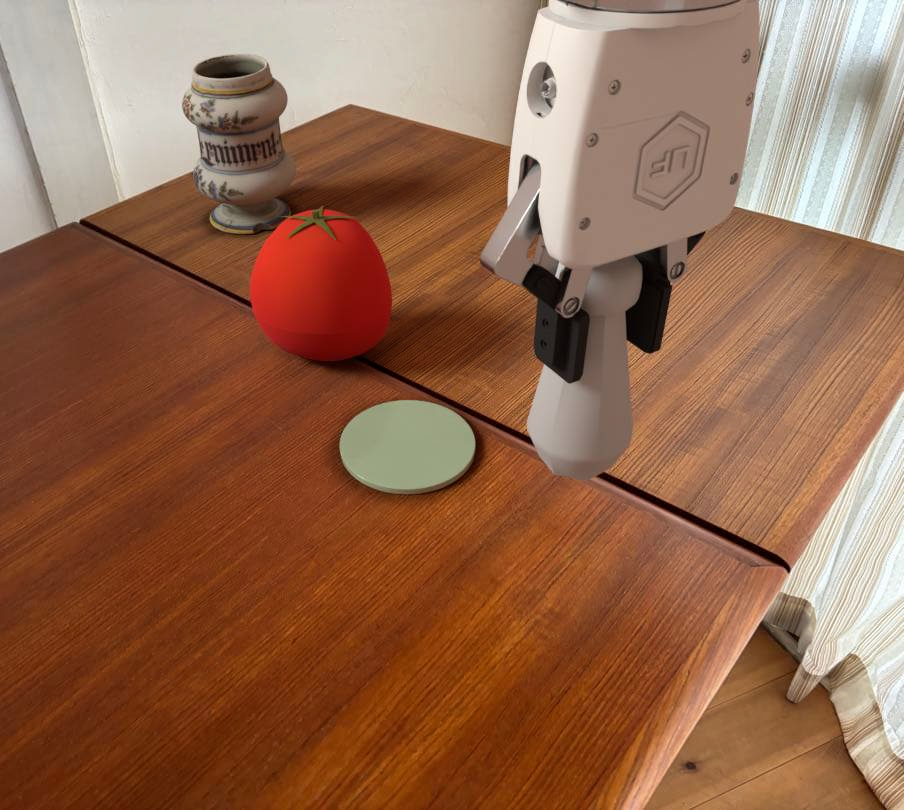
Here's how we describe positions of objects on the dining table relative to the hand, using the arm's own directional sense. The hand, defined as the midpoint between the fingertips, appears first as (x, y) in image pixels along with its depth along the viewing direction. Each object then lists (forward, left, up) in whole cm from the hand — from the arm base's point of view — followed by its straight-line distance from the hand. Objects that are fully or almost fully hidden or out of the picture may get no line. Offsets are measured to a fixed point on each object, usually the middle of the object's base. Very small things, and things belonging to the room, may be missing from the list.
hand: (596, 351), depth 44 cm
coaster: (+14, -12, -20) cm, 27 cm away
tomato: (+25, -23, -20) cm, 39 cm away
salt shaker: (0, 0, -8) cm, 8 cm away
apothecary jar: (+44, -48, -20) cm, 68 cm away
